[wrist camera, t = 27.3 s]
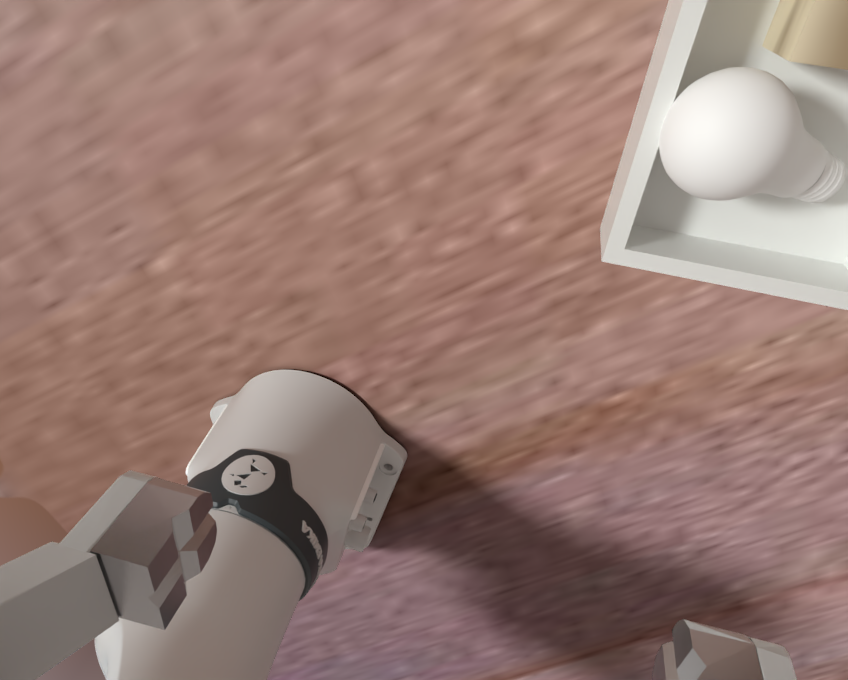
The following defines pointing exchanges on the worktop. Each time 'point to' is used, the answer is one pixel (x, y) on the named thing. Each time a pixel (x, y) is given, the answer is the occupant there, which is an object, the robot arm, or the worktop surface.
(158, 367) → the worktop surface
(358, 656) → the worktop surface
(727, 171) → the lightbulb
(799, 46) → the maple cube
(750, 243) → the tote
